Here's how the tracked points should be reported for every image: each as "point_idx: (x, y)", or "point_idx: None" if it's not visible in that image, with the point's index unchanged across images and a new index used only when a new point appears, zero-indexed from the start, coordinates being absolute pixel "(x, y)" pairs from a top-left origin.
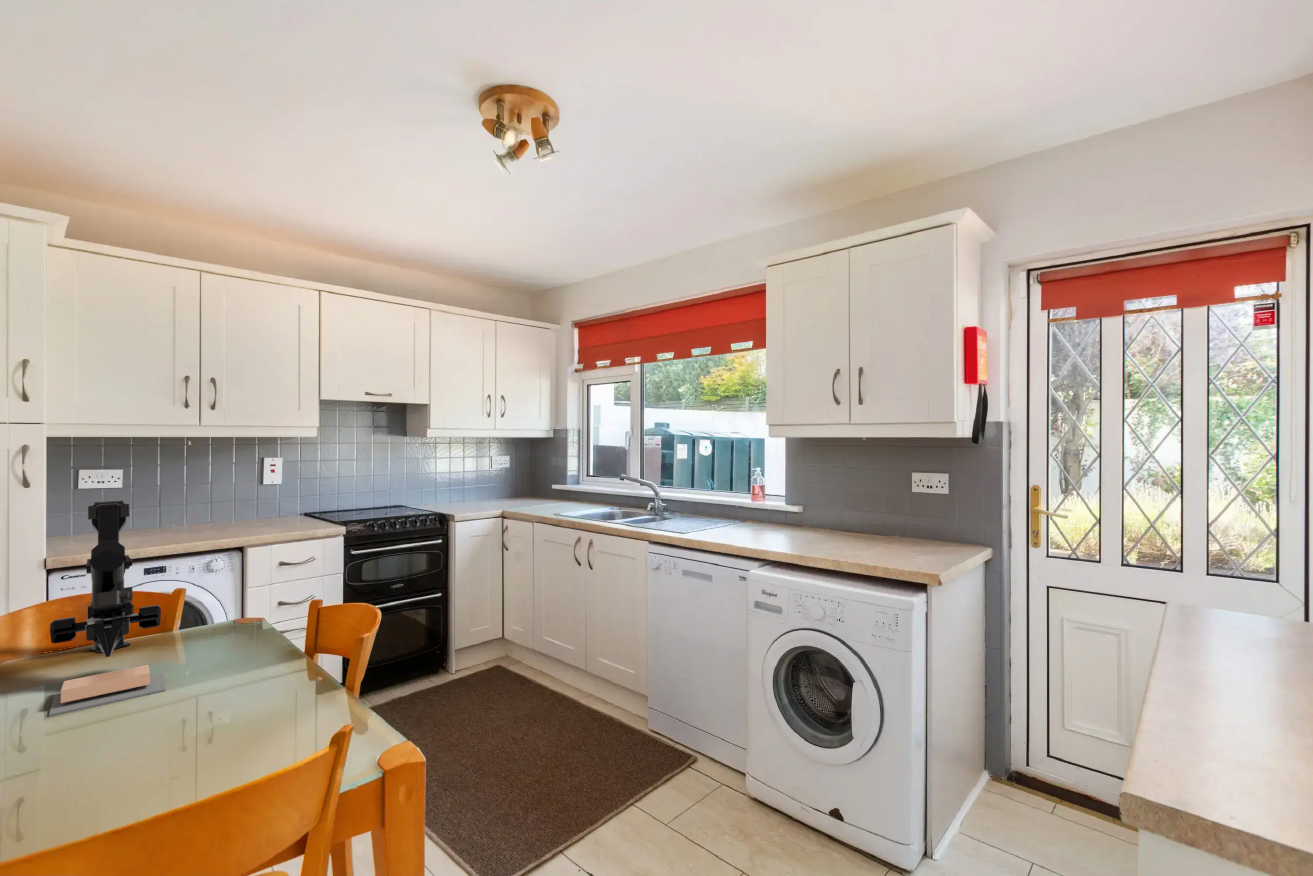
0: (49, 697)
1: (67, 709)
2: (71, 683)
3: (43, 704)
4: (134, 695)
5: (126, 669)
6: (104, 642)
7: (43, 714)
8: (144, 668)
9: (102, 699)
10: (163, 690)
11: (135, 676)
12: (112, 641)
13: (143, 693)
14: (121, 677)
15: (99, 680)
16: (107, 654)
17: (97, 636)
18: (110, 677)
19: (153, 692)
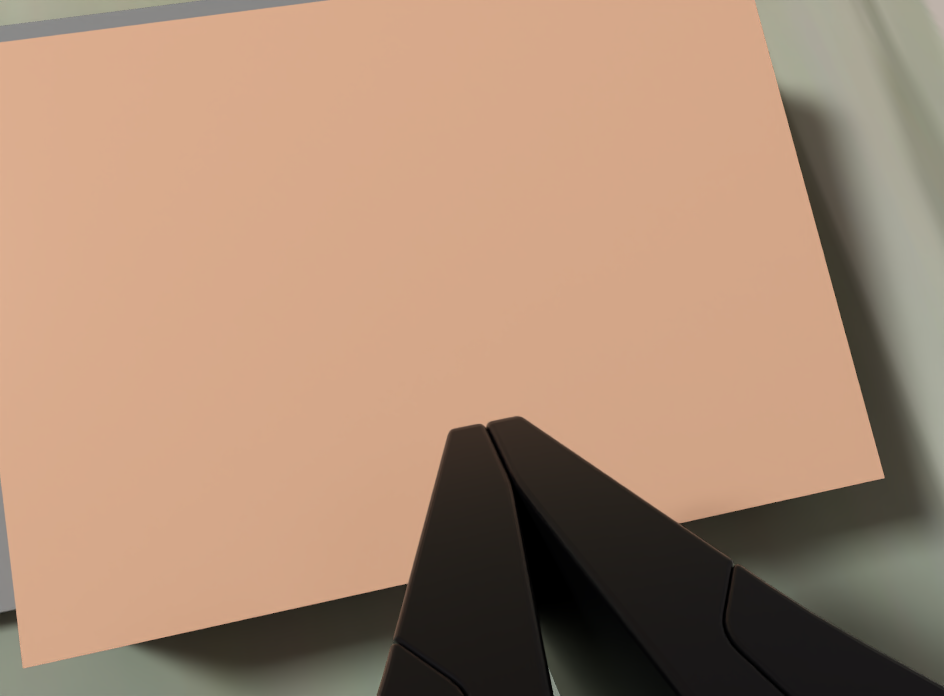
0: (911, 496)
1: None
2: (745, 235)
3: (876, 308)
4: (153, 15)
5: (274, 554)
6: (623, 551)
7: (769, 51)
8: (44, 395)
9: None
10: None
11: (103, 33)
12: (458, 591)
13: (82, 19)
14: (244, 58)
15: (465, 119)
16: (490, 427)
17: (901, 676)
18: (375, 182)
19: (6, 31)
